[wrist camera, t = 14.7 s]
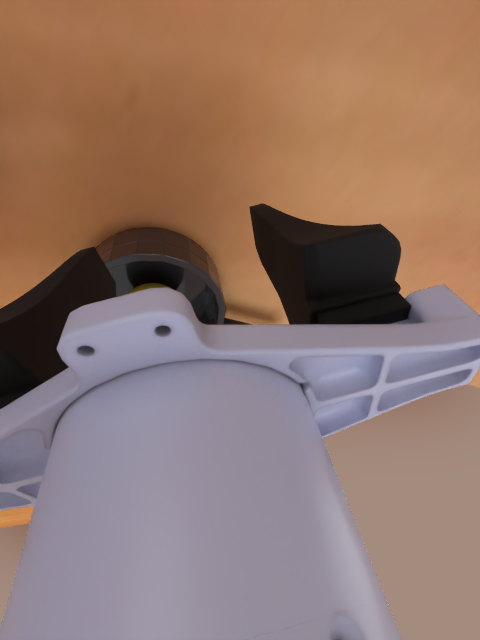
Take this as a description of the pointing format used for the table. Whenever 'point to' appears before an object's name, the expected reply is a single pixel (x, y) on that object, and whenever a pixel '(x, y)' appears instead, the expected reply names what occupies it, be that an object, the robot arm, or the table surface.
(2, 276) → the table surface
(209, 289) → the pan
